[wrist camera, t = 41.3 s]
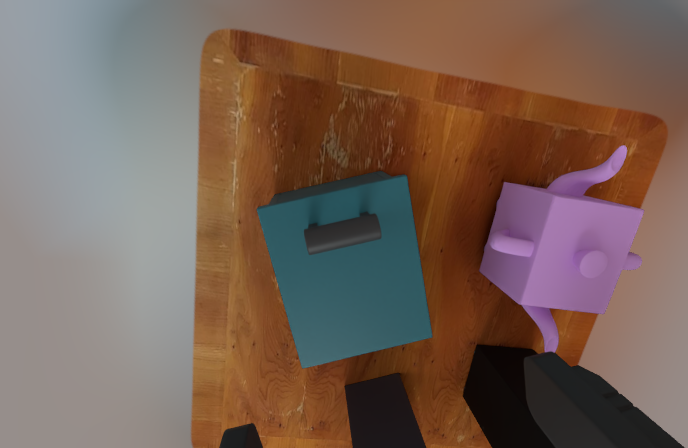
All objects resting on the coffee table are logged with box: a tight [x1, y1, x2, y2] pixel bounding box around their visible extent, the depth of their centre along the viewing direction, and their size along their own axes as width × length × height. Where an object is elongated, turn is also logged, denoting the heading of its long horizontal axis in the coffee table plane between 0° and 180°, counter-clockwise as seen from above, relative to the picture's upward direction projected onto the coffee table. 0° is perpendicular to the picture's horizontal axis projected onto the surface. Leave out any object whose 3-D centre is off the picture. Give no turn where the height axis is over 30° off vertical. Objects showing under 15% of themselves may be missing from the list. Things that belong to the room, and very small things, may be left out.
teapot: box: [479, 146, 644, 353], centre depth 34 cm, size 15×13×11 cm
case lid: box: [257, 174, 432, 368], centre depth 26 cm, size 14×12×5 cm
